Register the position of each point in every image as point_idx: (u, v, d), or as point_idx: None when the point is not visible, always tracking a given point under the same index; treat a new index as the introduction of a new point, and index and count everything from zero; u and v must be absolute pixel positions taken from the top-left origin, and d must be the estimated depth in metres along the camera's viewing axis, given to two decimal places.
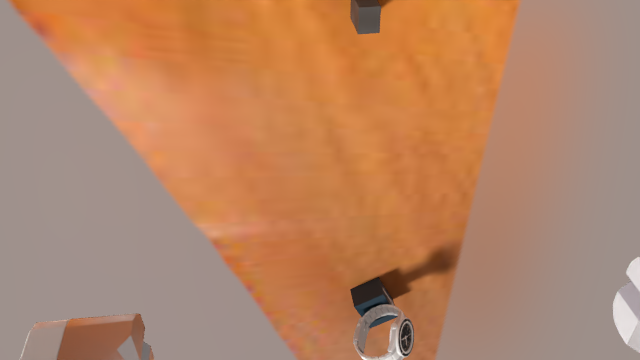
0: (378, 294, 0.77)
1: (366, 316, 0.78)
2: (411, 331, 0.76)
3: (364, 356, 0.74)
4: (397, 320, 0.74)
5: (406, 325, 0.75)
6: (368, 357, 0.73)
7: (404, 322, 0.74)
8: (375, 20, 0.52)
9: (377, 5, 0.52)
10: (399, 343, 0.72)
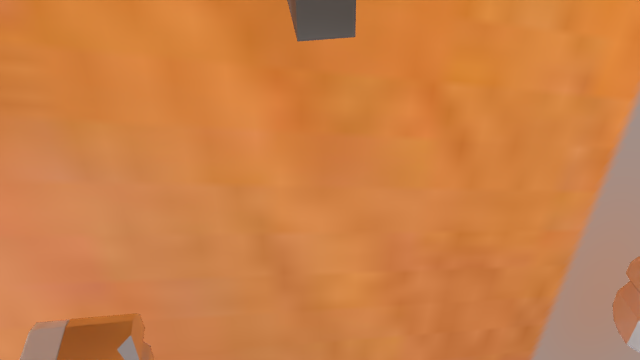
0: None
1: None
2: None
3: None
4: None
5: None
6: None
7: None
8: (343, 3, 0.19)
9: None
10: None
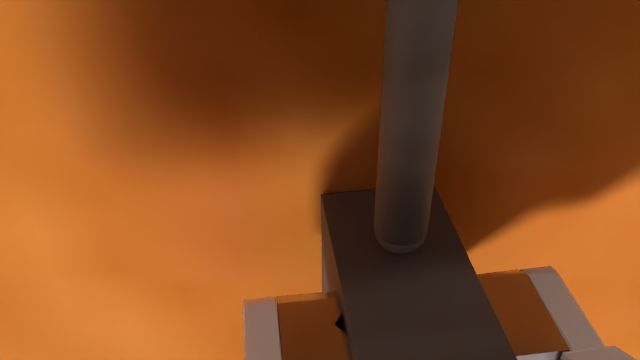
0: None
1: None
2: None
3: None
4: None
5: None
6: None
7: None
8: None
9: None
10: None
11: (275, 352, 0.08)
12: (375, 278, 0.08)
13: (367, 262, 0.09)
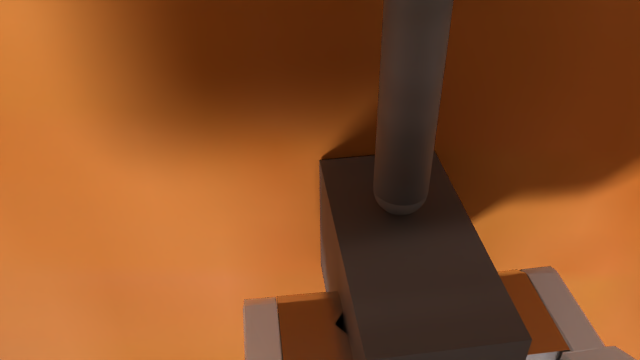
0: None
1: None
2: None
3: None
4: None
5: None
6: None
7: None
8: None
9: (503, 324, 0.07)
10: None
11: (276, 352, 0.08)
12: (374, 240, 0.08)
13: (367, 224, 0.08)
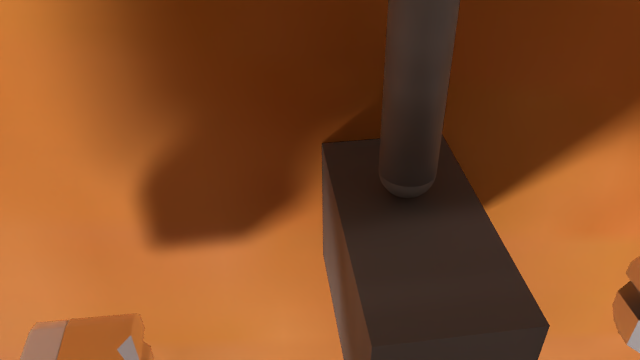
0: None
1: None
2: None
3: None
4: None
5: None
6: None
7: None
8: None
9: (517, 309, 0.07)
10: None
11: None
12: (380, 223, 0.08)
13: (372, 207, 0.08)
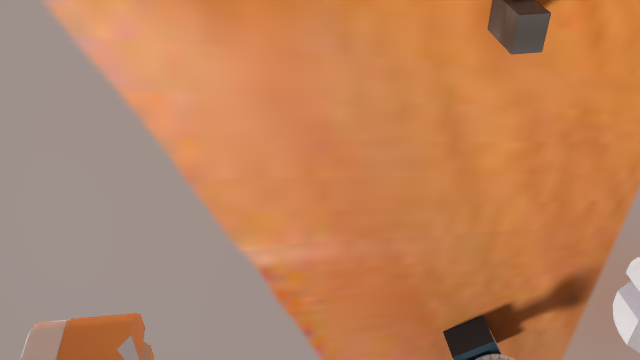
0: (486, 340, 0.56)
1: None
2: None
3: None
4: None
5: None
6: None
7: None
8: (539, 34, 0.35)
9: (545, 11, 0.35)
10: None
11: None
12: (514, 3, 0.36)
13: (511, 1, 0.36)
